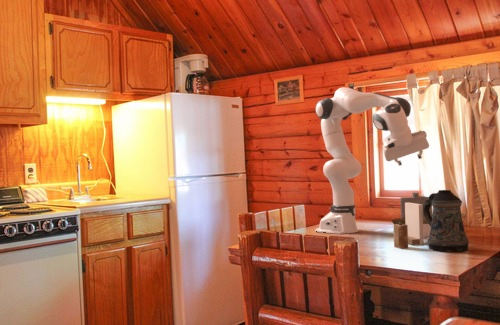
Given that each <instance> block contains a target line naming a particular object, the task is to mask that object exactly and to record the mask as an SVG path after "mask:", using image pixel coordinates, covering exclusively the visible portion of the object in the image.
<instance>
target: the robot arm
mask: <svg viewBox="0 0 500 325" xmlns="http://www.w3.org/2000/svg"><path fill="white" fill-rule="evenodd" d="M378 107H381V108H379V109H378V110H376V111H375V112H374V113H373V115H372V123H373V125H374V127H375V128H376V129H378V130H380V131H384V132H388V131H389V132H390V134H389V135H388V136H386V137H385V138H384V139H382V143H383V147H382V148H383V149H382V150H383V155H384V158H385V160H386V161H387V162H391V161H394V162H395V163H397V164H398V166H402V165H403V164H402V162H401V160H399V159H401V158H403V157H406V156H409V155H412V154H414V153H417V158H418V160H420V159H423V156H422V155H423V152H424V151H423V150H427V149H429V148H430V144H429V141H428V139H427V136H428V135H427V132H426V131H425V130H419V131H414V132H412V130H411V127H410V126H409V124H408V123H409V122H408V121H409V120H408V117H409V116H410V114H411V109H412V106H411V104H410V102H409V101H408V100H407V99H406V98H403V97H399V96H398V97H397V96H396V97H393V96H389V95H387V94H382V93H378V92H363V91H358V90H356V89H353V88H351V87H346V86H345V87H344V86H343V87H340V88H338V89H336V91H335V92H334V95H333V96H332V97H330V98H329V97H326V98H323V99H321V100H319V101H317V103H316V104H315V108H314V110H315V114H316V116H317V117H318V118H319V119H320V120H321V121H320V127H321V128H320V129H321V135H322V137H323V143H324V144H325V150H326V151H327V153H329V154H330V156H332V158H333V159H331V160H328V161H326V162H325V163H324V165H323V167H322V169H323V170H322V171H323V175H324V177H326V178H327V179H328V181H329V183H330V186H331V189H332V190H331V191H332V204H331V206H329V207H328V208H329V212H328V213H327V214H326V215H325V216H324V217H322V218H321V219H320V221H319V227H317V228H315V232H316V231H317V232H316V233H323V232H326V234H336V235H343V234H353V233H354V234H355V233H358V232H359V229H358V227H357V226H358V225H357V222H356V214H357V213H356V204H355V192H354V189H353V188H352V187H351V184H350V183H349V179H354V178H356V177H358V176H359V175H361V172H362V165H361V162H360V161H359V160H358V159H356V158H355V156H354V155H353V153H352V152H351V150H350V147H348V144H347V142H346V137H345V134H344V131H343V127H342V125H341V124H342V120H343V121H346V120H347V119H348V118H350V117H351V116H352V115H353V114H355V115H356V114H357V115H358V114H361V113H364V112H367V111H369V110H372V109H373V108H378Z"/></svg>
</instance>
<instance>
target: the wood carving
mask: <svg viewBox="0 0 500 325" xmlns="http://www.w3.org/2000/svg"><path fill="white" fill-rule="evenodd" d="M461 214H462V220H463V223H464V221H465V219H466V217H467V212H461ZM391 222H392V223H393V225H394V224H399V222H402V224H404V225H405V218H401V217H398V218H394V219H392V220H391ZM430 230H431V226H430V225H429V224H428V222H427V221H426V219H425V218H423V237H429V235H430Z"/></svg>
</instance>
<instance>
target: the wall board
mask: <svg viewBox="0 0 500 325" xmlns="http://www.w3.org/2000/svg"><path fill="white" fill-rule="evenodd" d="M405 225H408V246H419V245H421V246H422V245H424V236H423V204H416V203H405Z"/></svg>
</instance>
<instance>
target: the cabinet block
mask: <svg viewBox="0 0 500 325" xmlns="http://www.w3.org/2000/svg"><path fill="white" fill-rule="evenodd" d="M393 247H394V248H396V249H399V250H400V249H409V244H408V225H404V224H402V222H399V224H393Z"/></svg>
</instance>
